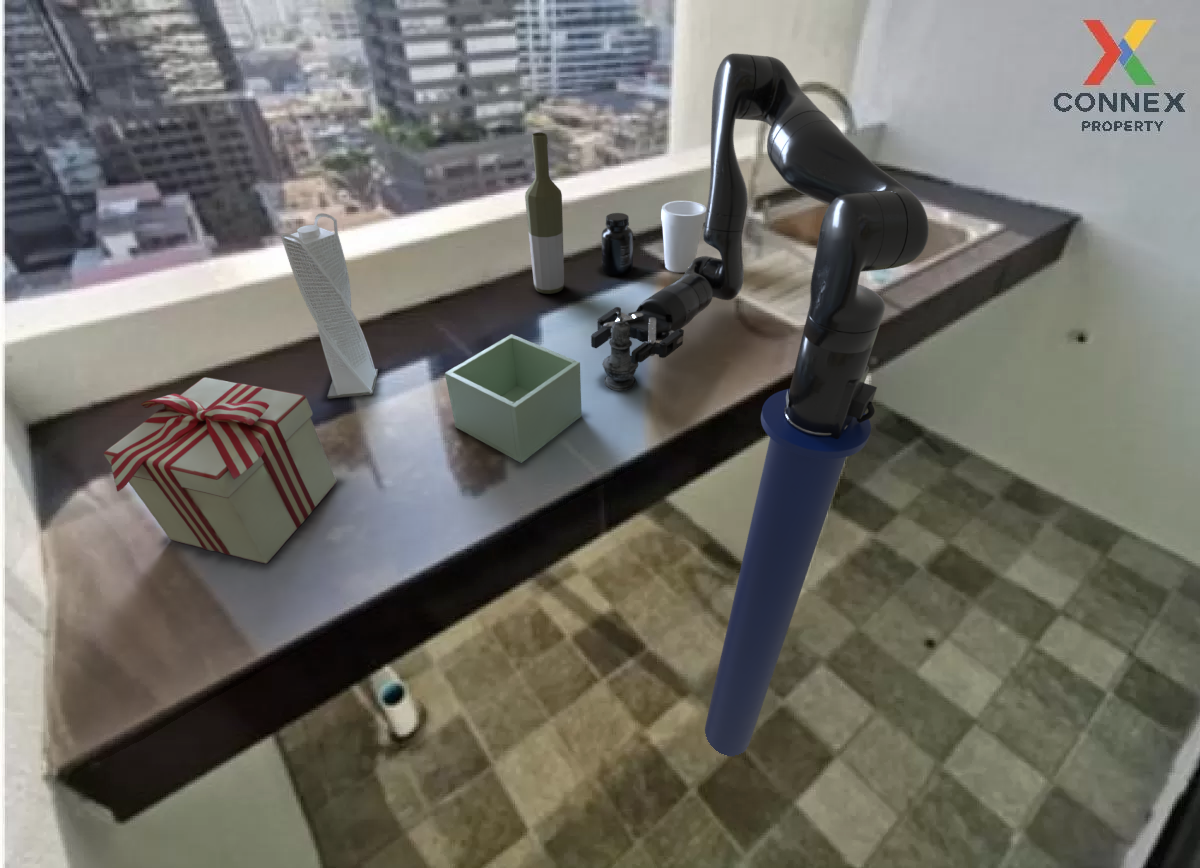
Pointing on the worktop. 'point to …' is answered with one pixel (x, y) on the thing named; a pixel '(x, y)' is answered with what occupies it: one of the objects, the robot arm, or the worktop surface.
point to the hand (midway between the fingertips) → (612, 350)
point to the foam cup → (681, 233)
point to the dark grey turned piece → (620, 359)
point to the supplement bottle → (617, 245)
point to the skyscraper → (331, 307)
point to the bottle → (545, 223)
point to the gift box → (226, 467)
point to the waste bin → (515, 396)
